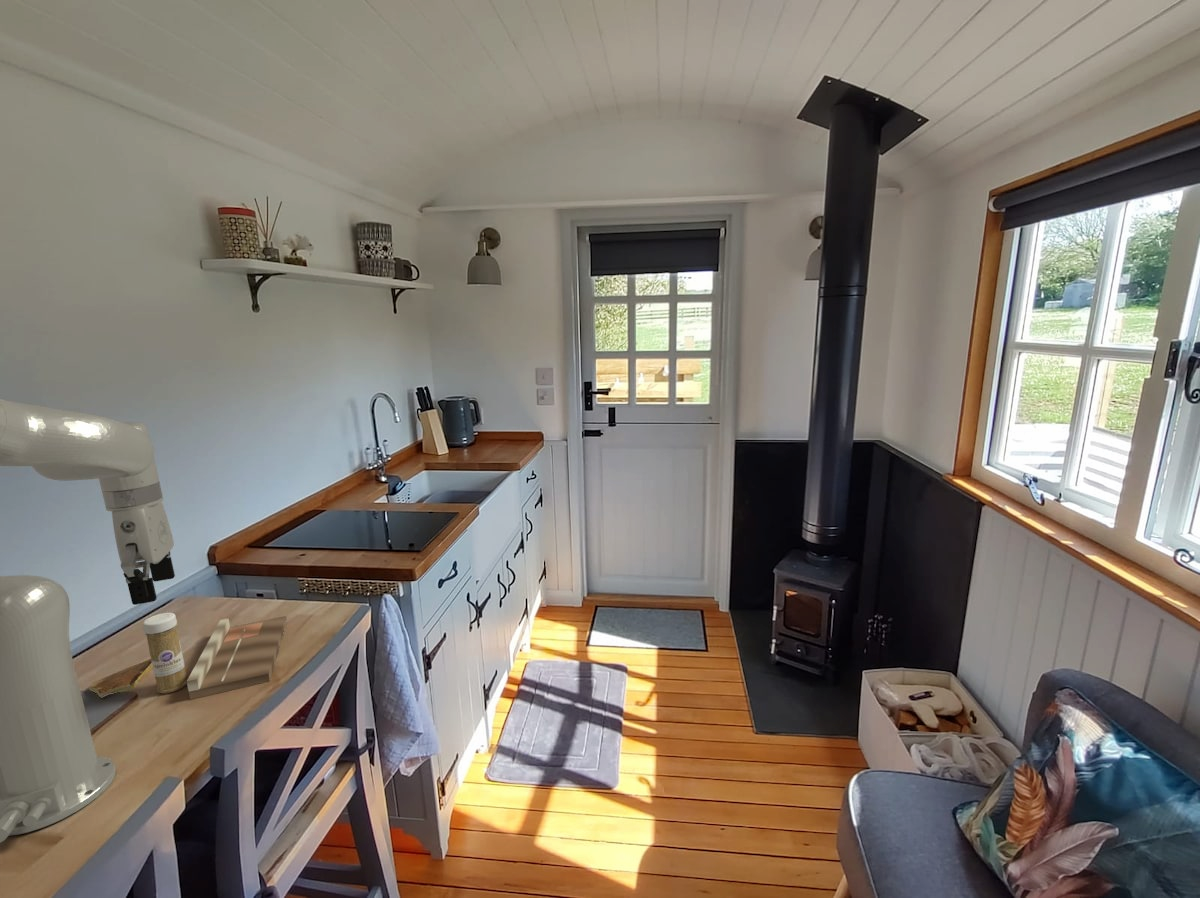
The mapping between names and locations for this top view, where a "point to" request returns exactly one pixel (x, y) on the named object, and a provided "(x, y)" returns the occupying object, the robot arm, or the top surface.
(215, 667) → the guide board
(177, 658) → the sprinkles bottle
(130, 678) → the shard
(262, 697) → the top surface
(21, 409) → the robot arm
